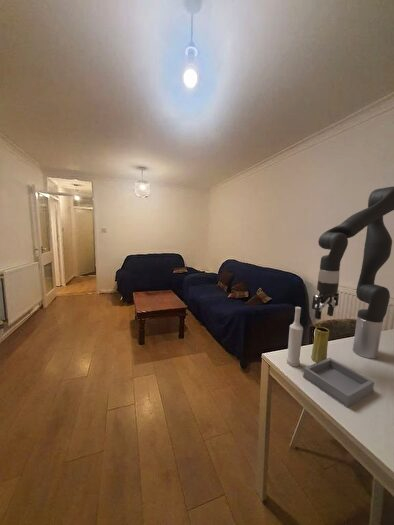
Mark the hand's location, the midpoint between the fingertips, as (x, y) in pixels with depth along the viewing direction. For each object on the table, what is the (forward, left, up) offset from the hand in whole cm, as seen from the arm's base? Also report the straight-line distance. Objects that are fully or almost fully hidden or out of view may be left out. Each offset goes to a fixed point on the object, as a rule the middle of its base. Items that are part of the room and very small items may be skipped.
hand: (323, 317), depth 93 cm
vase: (0, 0, -20) cm, 20 cm away
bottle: (+13, -3, -20) cm, 24 cm away
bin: (+9, +13, -20) cm, 25 cm away
